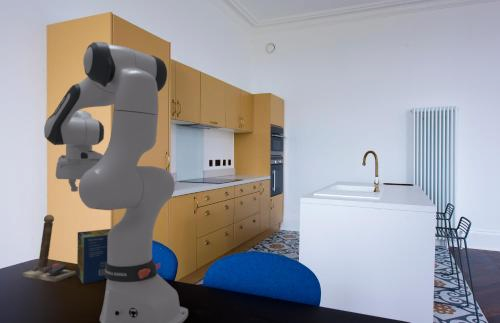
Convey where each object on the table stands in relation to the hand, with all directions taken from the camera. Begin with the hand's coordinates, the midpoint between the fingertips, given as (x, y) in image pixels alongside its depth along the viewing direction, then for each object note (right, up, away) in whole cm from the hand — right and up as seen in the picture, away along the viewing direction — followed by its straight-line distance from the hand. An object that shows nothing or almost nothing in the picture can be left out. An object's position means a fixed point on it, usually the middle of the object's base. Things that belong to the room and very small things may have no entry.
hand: (78, 191), depth 126 cm
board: (-7, -29, -7) cm, 31 cm away
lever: (-10, -27, -6) cm, 29 cm away
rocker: (-2, -26, -9) cm, 28 cm away
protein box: (+12, -29, -7) cm, 33 cm away
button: (-5, -27, -6) cm, 28 cm away
